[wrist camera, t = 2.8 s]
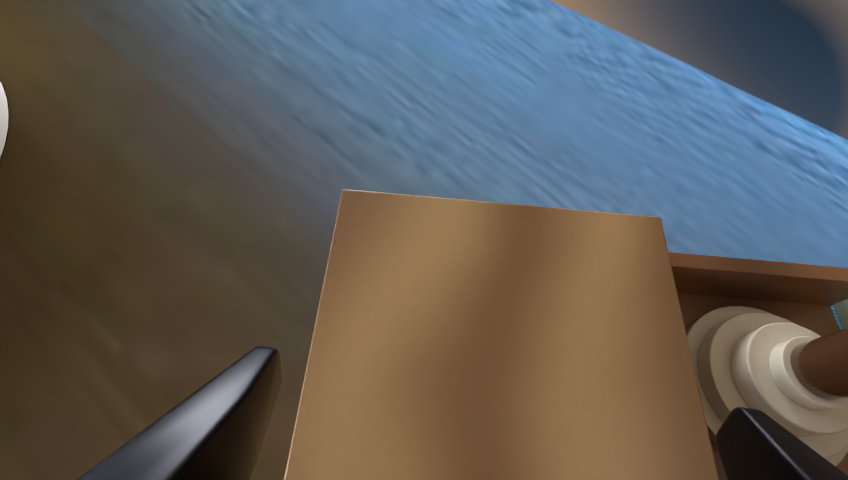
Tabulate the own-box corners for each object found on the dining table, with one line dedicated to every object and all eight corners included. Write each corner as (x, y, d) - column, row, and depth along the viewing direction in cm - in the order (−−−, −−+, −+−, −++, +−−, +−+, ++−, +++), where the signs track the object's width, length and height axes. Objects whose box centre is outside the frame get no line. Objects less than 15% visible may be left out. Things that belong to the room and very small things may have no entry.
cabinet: (608, 269, 26) (660, 216, 21) (647, 537, 20) (738, 559, 15) (353, 246, 26) (341, 188, 21) (308, 509, 20) (274, 521, 14)
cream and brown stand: (851, 362, 22) (1111, 295, 14) (831, 518, 19) (1158, 548, 11) (698, 282, 24) (852, 183, 16) (655, 412, 21) (822, 370, 13)
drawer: (915, 298, 26) (1004, 267, 22) (1045, 555, 20) (1199, 574, 16) (602, 270, 25) (637, 234, 22) (637, 521, 19) (694, 532, 16)
